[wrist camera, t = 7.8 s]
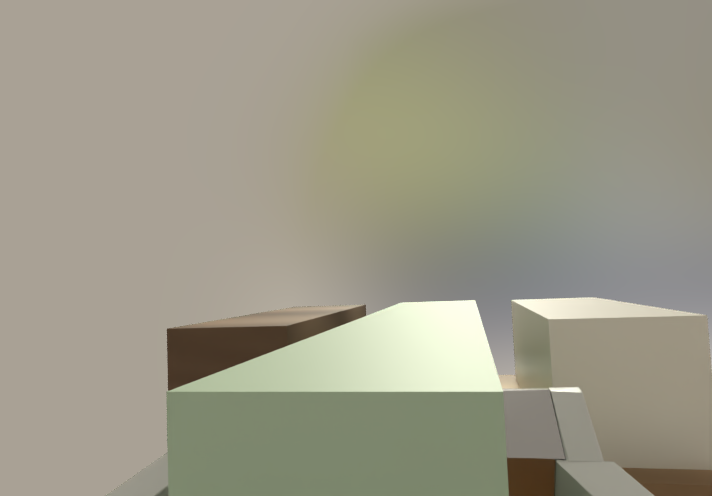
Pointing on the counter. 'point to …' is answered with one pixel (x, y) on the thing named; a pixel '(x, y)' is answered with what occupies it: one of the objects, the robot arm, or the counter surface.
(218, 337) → the walnut bar
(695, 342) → the cream bar
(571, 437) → the robot arm
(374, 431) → the sage bar
